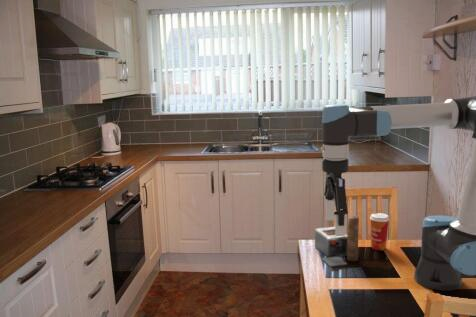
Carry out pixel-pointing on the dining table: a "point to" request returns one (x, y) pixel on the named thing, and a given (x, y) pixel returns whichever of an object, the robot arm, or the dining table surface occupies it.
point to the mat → (334, 261)
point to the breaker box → (324, 242)
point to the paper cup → (379, 230)
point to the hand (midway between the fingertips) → (334, 227)
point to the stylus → (352, 238)
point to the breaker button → (333, 242)
